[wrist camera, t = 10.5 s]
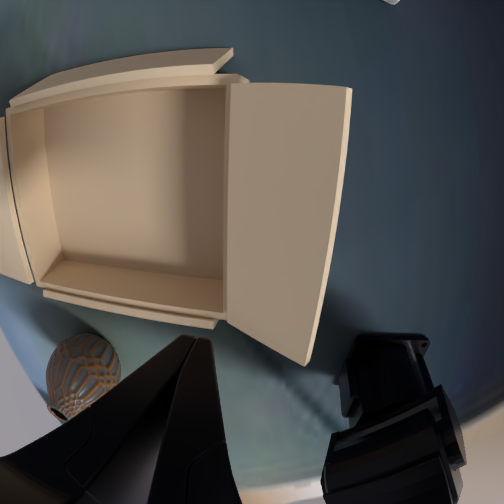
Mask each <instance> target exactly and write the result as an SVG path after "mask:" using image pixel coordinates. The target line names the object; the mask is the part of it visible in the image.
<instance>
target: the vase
mask: <svg viewBox="0 0 504 504" xmlns="http://www.w3.org/2000/svg"><path fill="white" fill-rule="evenodd" d="M120 378H121V365H120V361H119V358H118V356H117V353H116V351H115V350H114V348H113V347H112V346H111V345H110V344H109V343H108V342H107V341H106V340H105V339H103V338H101V337H100V336H97V335H94V334H88V333H80V334H75V335H73V336H70V337H69V338H67V339H65V340H64V341H63V342H62V343H61V344H60V345H59V346H58V347H57V348H56V349H55V350H54V352H53V353H52V355H51V357H50V360H49V362H48V366H47V370H46V383H47V391H48V403H47V408H48V410H49V411H50V413H52V415H53V416H55V417H56V418H57V419H59V420H60V421H62V422H65V423H66V422H67V421H68V420H70V419H71V418H73V417H74V416H76V415H77V414H78V413H80V412H81V411H82V410H84V409H85V408H86V407H88V406H89V407H90V405H91V404H92V403H93V402H95V401H96V400H97V399H99V398H100V397H101V396H103V395H104V394H105V393H106V392H108V391H109V390H110V389H112V388H113V387H114V386H116V385H117V384H118V383H120Z"/></svg>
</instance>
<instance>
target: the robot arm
mask: <svg viewBox="0 0 504 504" xmlns="http://www.w3.org/2000/svg"><path fill="white" fill-rule="evenodd" d="M361 341H364V342H362V343H360V342H361ZM423 343H424V344H423ZM429 345H430V342H429V339H428V338H427V337H393V336H365V335H362V336H358V337H357V338H356V340H355V342H354V345H353V348H352V351H351V354H350V357H348V358H347V359H346V360H345V362H344V365H343V368H342V371H341V374H340V376H339V389H340V399H341V411H342V416H343V417H344V418H349V426H350V428H349V429H347V430H344V431H341V432H339V431H338V432H335V433H332V434H331V439H330V443H329V447H328V452H327V456H326V460H325V464H324V468H323V471H322V477H321V485H322V490H323V498H324V500H325V502H326V504H457V502H458V500H459V497H460V494H461V491H462V487H463V482H462V478H461V474H460V470H459V468H460V467H462V466H464V465H466V464H467V461H466V454H465V447H464V441H463V435H462V431H461V428H460V425H459V422H458V419H457V416H456V413H455V410H454V408H453V406H452V404H451V402H450V400H449V399H448V397H447V395H446V393H445V391H444V389H443V387H442V385H439V386H437V387H435V388H434V386H433V383H432V380H431V377H430V374H429V372H428V369H427V366H426V363H425V361H424V358H423V357H424V355H425V353H426V351H427V349H428V347H429ZM0 504H242V501H241V499H240V496H239V493H238V490H237V487H236V484H235V481H234V478H233V475H232V470H231V465H230V461H229V456H228V450H227V444H226V438H225V432H224V425H223V418H222V412H221V405H220V397H219V390H218V383H217V375H216V367H215V359H214V351H213V342H212V340H211V339H209V338H202V337H198V338H196V337H195V336H190V335H180V336H179V337H178V338H176V339H175V340H174V341H172V342H171V343H170V344H169V345H167V346H166V347H165V348H164V349H162V350H161V351H160V352H158V353H157V354H156V355H155V356H153V357H152V358H151V359H149V360H148V361H147V362H146V363H144V364H143V365H142V366H140V367H139V368H138V369H136V370H135V371H134V372H133V373H131V374H130V375H129V376H127V377H126V378H125V379H123V380H122V381H121V382H120V383H118V384H117V385H116V386H114V387H113V388H112V389H110V390H109V391H108V392H106V393H105V394H104V395H103V396H101V397H100V398H99V399H97V400H96V401H95V402H93V403H92V404H91V405H90V407H89V406H88V407H86V408H85V409H84V410H82V411H81V412H80V413H78V414H77V415H76V416H74V417H73V418H71V419H70V420H68V421H67V422H66V423H64V424H63V425H61V426H59V427H58V428H56V429H55V430H53V431H51V432H50V433H48V434H46V435H44V436H43V437H41V438H39V439H37V440H35V441H34V442H32V443H30V444H28V445H26V446H24V447H23V448H21V449H19V450H17V451H15V452H13V453H11V454H9V455H6V456H3V457H0Z"/></svg>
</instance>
